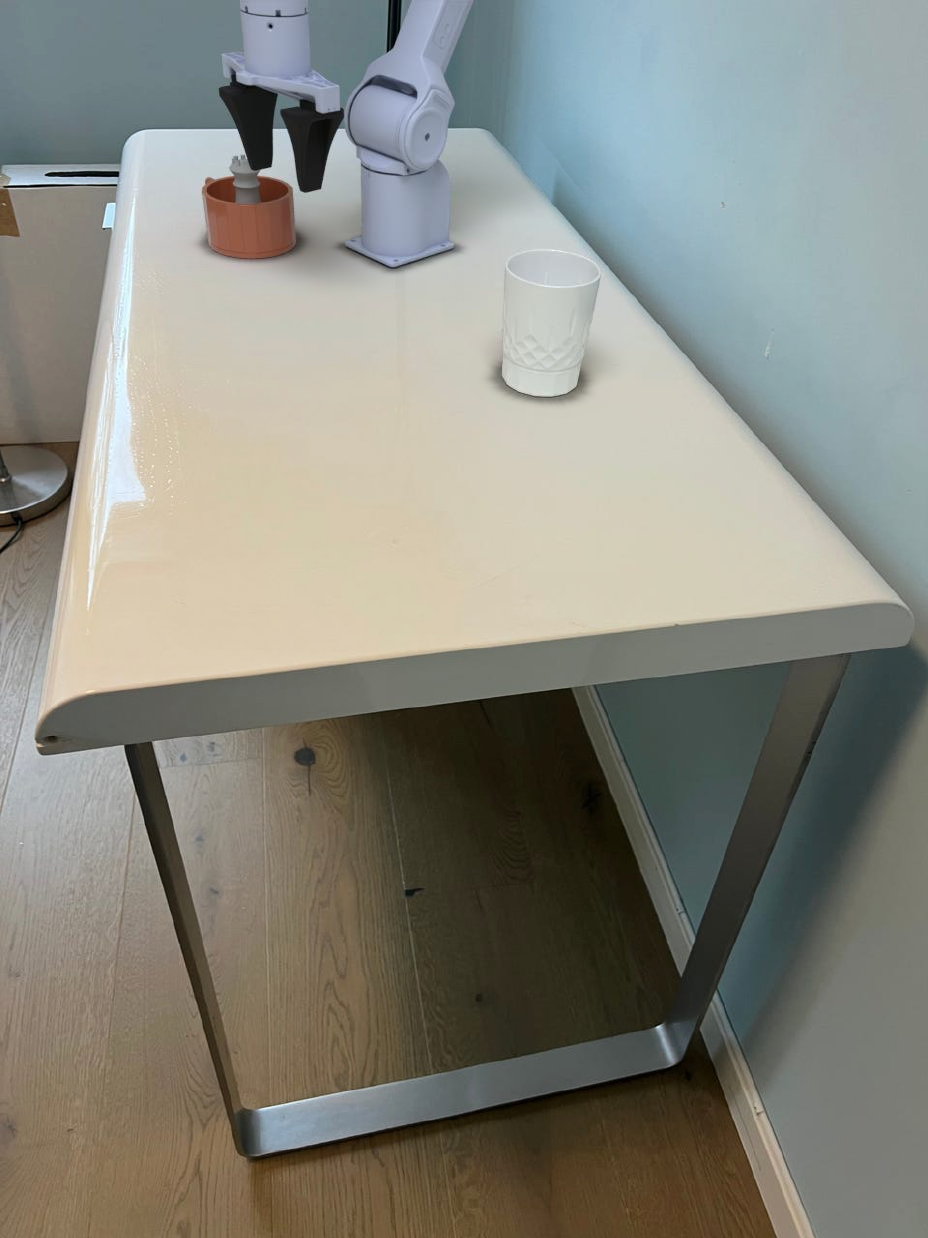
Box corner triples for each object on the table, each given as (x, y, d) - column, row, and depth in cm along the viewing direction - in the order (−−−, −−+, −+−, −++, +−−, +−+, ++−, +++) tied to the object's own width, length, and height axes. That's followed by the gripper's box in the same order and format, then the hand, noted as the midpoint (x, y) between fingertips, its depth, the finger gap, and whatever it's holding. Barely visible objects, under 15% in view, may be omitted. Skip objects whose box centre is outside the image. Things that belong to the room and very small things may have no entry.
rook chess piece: (232, 228, 104) (224, 150, 98) (273, 229, 104) (267, 152, 99) (228, 243, 100) (219, 164, 95) (271, 244, 101) (264, 165, 96)
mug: (313, 245, 103) (310, 192, 99) (242, 265, 98) (236, 211, 94) (246, 212, 109) (241, 162, 106) (175, 230, 104) (168, 178, 100)
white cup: (579, 407, 80) (596, 292, 73) (488, 393, 81) (497, 279, 74) (588, 365, 86) (605, 255, 79) (503, 352, 86) (513, 243, 80)
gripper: (185, -1, 81) (205, 166, 90) (289, 31, 74) (299, 208, 83) (252, -7, 85) (265, 153, 94) (357, 22, 78) (360, 193, 87)
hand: (285, 178), depth 89 cm, fingers open, 7 cm apart
